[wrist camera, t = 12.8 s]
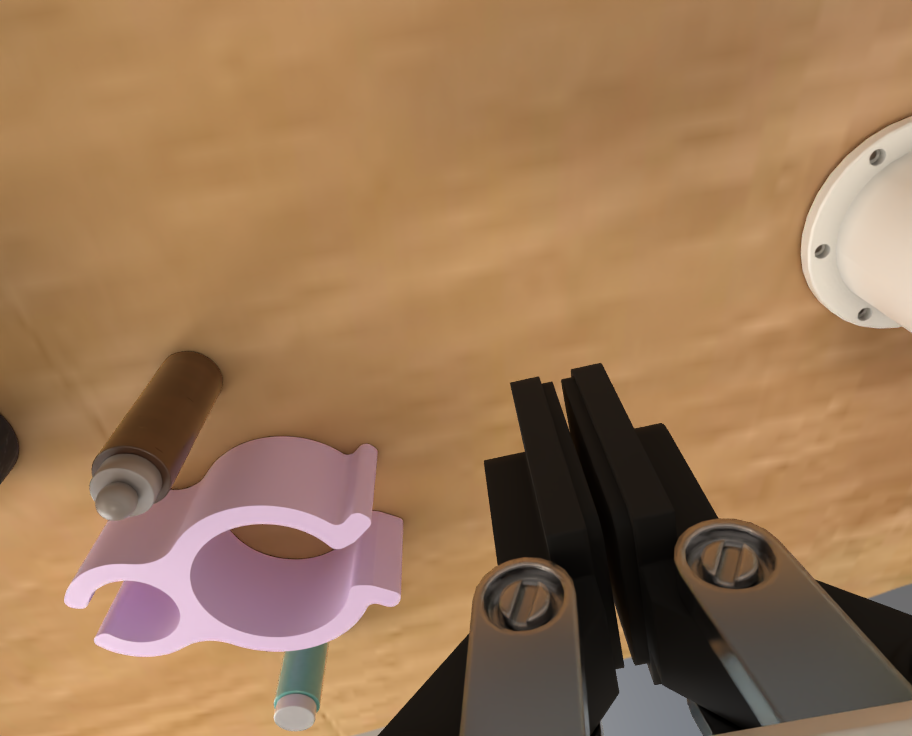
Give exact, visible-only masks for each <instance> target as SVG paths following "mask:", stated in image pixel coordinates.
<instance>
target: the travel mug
mask: <svg viewBox="0 0 912 736" xmlns="http://www.w3.org/2000/svg"><path fill="white" fill-rule="evenodd" d="M18 453H19V445H18V441H17V437H16V435H15V433H14V431H13V429H12V427H11V426H10V425H9V423H8V422H7V421H6V420H5V419H4V417H3V416H2V415H0V484H1V483H2V481H3V480H4V479H5V477H6V476H7V475H8V474H9V472H10V471H11V470H12V468H13V467H14V465H15V463H16V461H17V458H18Z"/></svg>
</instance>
